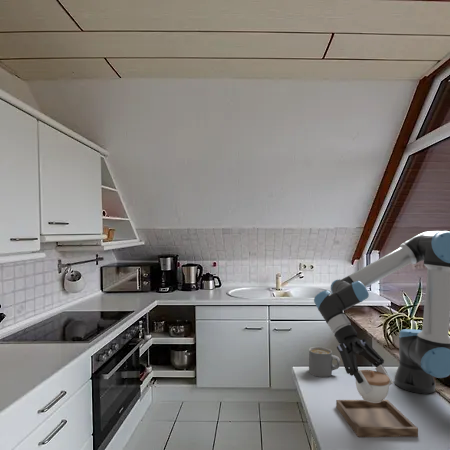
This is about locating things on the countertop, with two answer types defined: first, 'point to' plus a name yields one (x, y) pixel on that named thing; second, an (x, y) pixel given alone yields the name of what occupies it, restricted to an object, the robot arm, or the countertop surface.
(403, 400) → the countertop surface
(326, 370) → the coffee mug
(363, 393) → the lidded jar
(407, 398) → the countertop surface
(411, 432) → the walnut square tray
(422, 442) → the countertop surface
